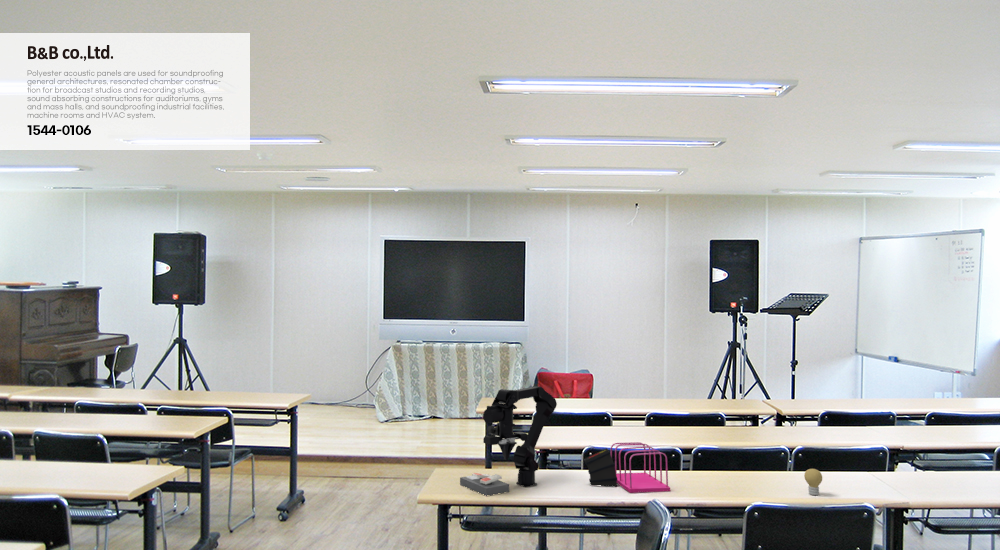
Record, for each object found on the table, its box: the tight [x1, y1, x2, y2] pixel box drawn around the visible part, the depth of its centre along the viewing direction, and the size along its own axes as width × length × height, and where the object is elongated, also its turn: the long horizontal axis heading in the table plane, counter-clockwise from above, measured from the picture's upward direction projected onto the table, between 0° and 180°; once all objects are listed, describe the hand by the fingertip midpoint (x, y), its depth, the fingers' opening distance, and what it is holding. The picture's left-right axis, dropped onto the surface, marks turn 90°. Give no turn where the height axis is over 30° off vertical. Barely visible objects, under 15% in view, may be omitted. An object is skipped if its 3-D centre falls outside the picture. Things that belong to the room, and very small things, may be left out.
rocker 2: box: [480, 473, 503, 484], centre depth 250 cm, size 8×4×1 cm, turn 125°
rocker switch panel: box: [459, 475, 510, 497], centre depth 254 cm, size 11×20×4 cm, turn 34°
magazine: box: [583, 448, 618, 487], centre depth 259 cm, size 4×13×15 cm, turn 85°
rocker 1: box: [471, 472, 492, 478], centre depth 255 cm, size 8×4×1 cm, turn 123°
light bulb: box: [804, 468, 823, 496], centre depth 246 cm, size 6×6×10 cm
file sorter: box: [610, 441, 671, 494], centre depth 261 cm, size 17×25×16 cm
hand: (505, 459), depth 252 cm, fingers closed
